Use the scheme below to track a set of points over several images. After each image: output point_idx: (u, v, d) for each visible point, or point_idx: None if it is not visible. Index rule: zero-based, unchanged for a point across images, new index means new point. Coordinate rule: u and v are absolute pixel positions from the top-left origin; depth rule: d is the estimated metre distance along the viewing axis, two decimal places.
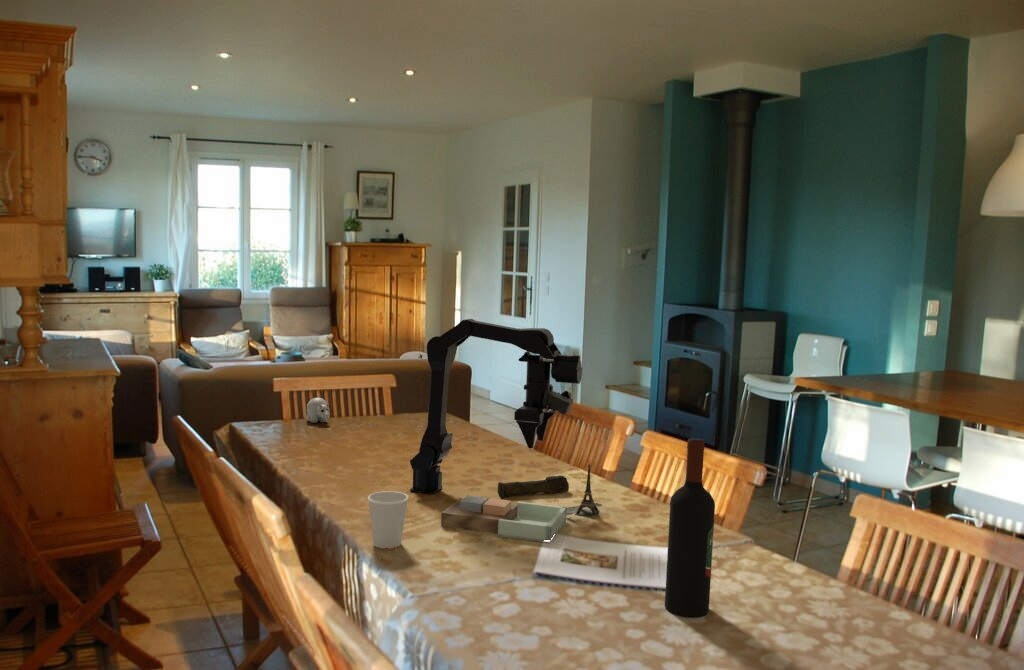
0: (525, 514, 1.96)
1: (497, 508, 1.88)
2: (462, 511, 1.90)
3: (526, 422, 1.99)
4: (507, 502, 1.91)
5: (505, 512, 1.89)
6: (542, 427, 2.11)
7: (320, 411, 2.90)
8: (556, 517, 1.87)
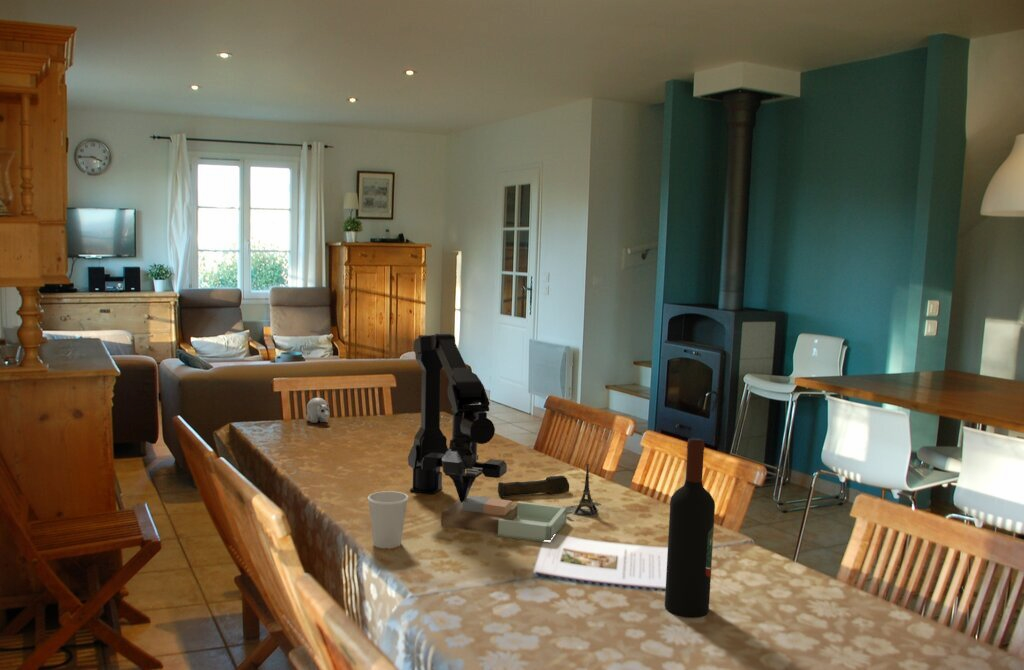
0: (525, 514, 1.96)
1: (498, 508, 1.88)
2: (462, 511, 1.90)
3: None
4: (507, 502, 1.91)
5: (506, 512, 1.89)
6: None
7: (320, 411, 2.90)
8: (556, 517, 1.87)
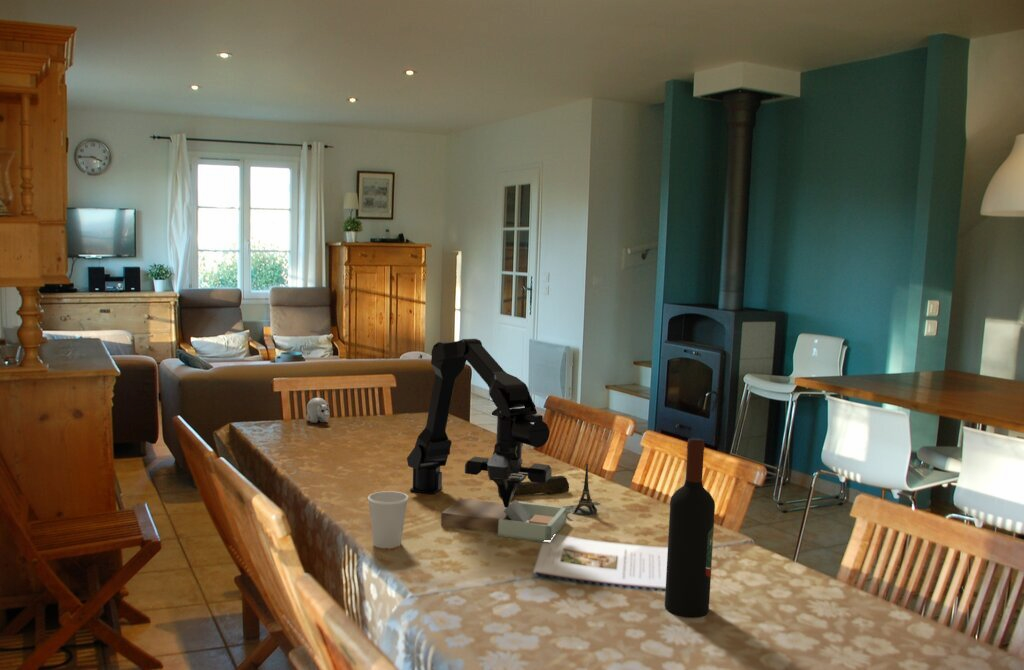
0: None
1: None
2: (462, 511, 1.90)
3: None
4: None
5: None
6: None
7: (320, 411, 2.90)
8: (556, 517, 1.87)
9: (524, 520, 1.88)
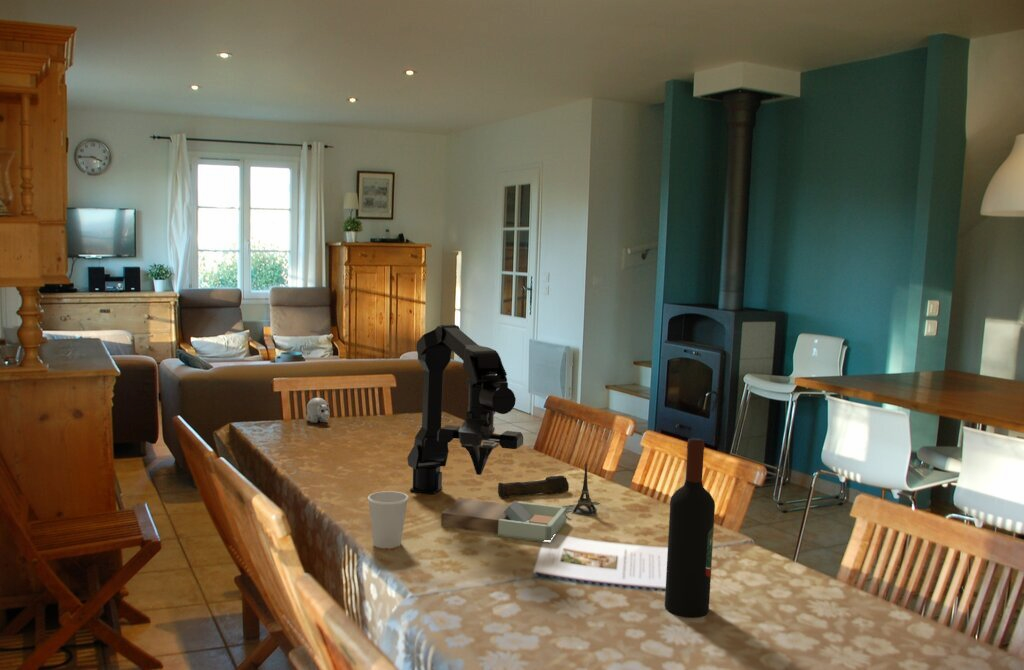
0: None
1: None
2: (462, 511, 1.90)
3: None
4: None
5: None
6: None
7: (320, 411, 2.90)
8: (556, 517, 1.87)
9: (524, 520, 1.88)
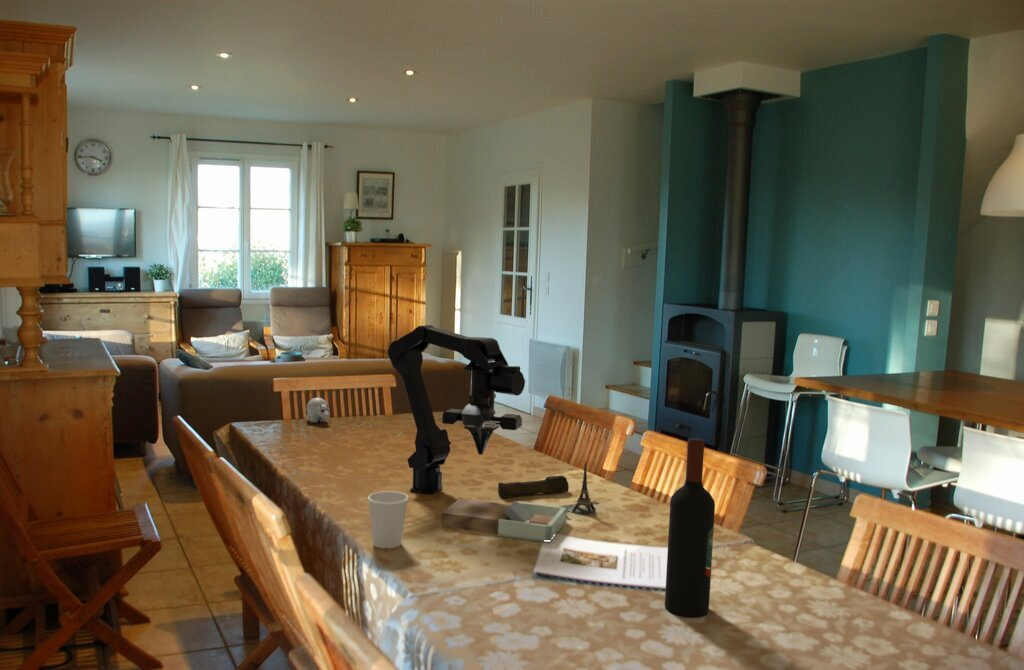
0: None
1: None
2: (462, 511, 1.90)
3: None
4: None
5: None
6: None
7: (320, 411, 2.90)
8: (556, 517, 1.87)
9: (524, 520, 1.88)
